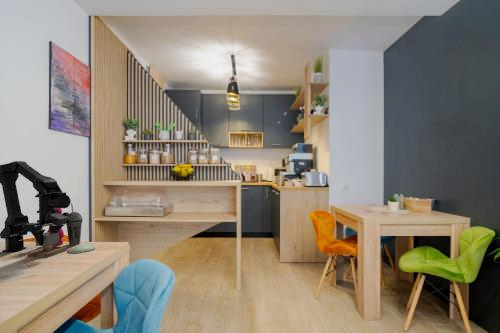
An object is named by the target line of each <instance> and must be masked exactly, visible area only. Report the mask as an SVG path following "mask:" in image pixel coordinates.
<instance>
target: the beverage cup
mask: <svg viewBox="0 0 500 333" xmlns="http://www.w3.org/2000/svg"><path fill="white" fill-rule="evenodd" d="M70 206H71V212H69V223H67V224H65V225H66V231H67V239H68V240H67V242H68V245H69V246H77V245H80V244H81V234H82V224H83V216H82V214H81V213H79V212H77V211H74V209H73V208H74V207H73V203H70Z"/></svg>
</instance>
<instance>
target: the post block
mask: <svg viewBox="0 0 500 333" xmlns="http://www.w3.org/2000/svg"><path fill="white" fill-rule="evenodd" d="M63 252H68V247H67V246H53V245H50V246H42V248H38V249H36V250H32V251H29V252H27V257H34V258H50V257H53V256H55V255H58V254H62V253H63Z"/></svg>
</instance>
